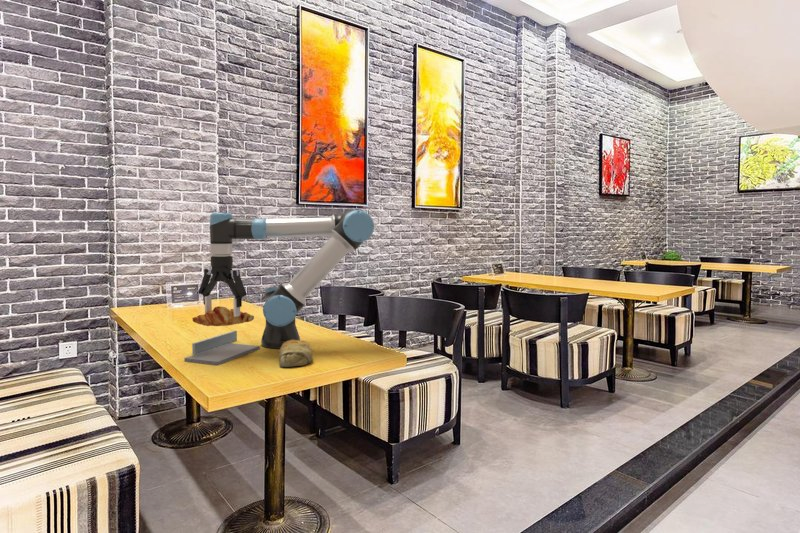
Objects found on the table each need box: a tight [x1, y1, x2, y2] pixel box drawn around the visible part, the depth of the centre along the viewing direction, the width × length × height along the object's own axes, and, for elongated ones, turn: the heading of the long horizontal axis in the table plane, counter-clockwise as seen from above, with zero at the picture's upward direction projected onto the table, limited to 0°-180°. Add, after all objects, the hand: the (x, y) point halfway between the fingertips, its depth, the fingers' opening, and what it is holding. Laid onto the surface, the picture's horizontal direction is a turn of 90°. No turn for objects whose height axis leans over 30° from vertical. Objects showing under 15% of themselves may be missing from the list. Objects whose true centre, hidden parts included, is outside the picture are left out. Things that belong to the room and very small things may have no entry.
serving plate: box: [183, 342, 261, 366], centre depth 181 cm, size 14×24×1 cm, turn 161°
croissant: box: [191, 306, 255, 327], centre depth 180 cm, size 21×10×8 cm, turn 114°
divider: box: [191, 330, 238, 355], centre depth 193 cm, size 1×24×4 cm, turn 161°
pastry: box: [278, 339, 314, 368], centre depth 171 cm, size 14×12×8 cm
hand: (222, 314), depth 180 cm, fingers closed on croissant, 12 cm apart
